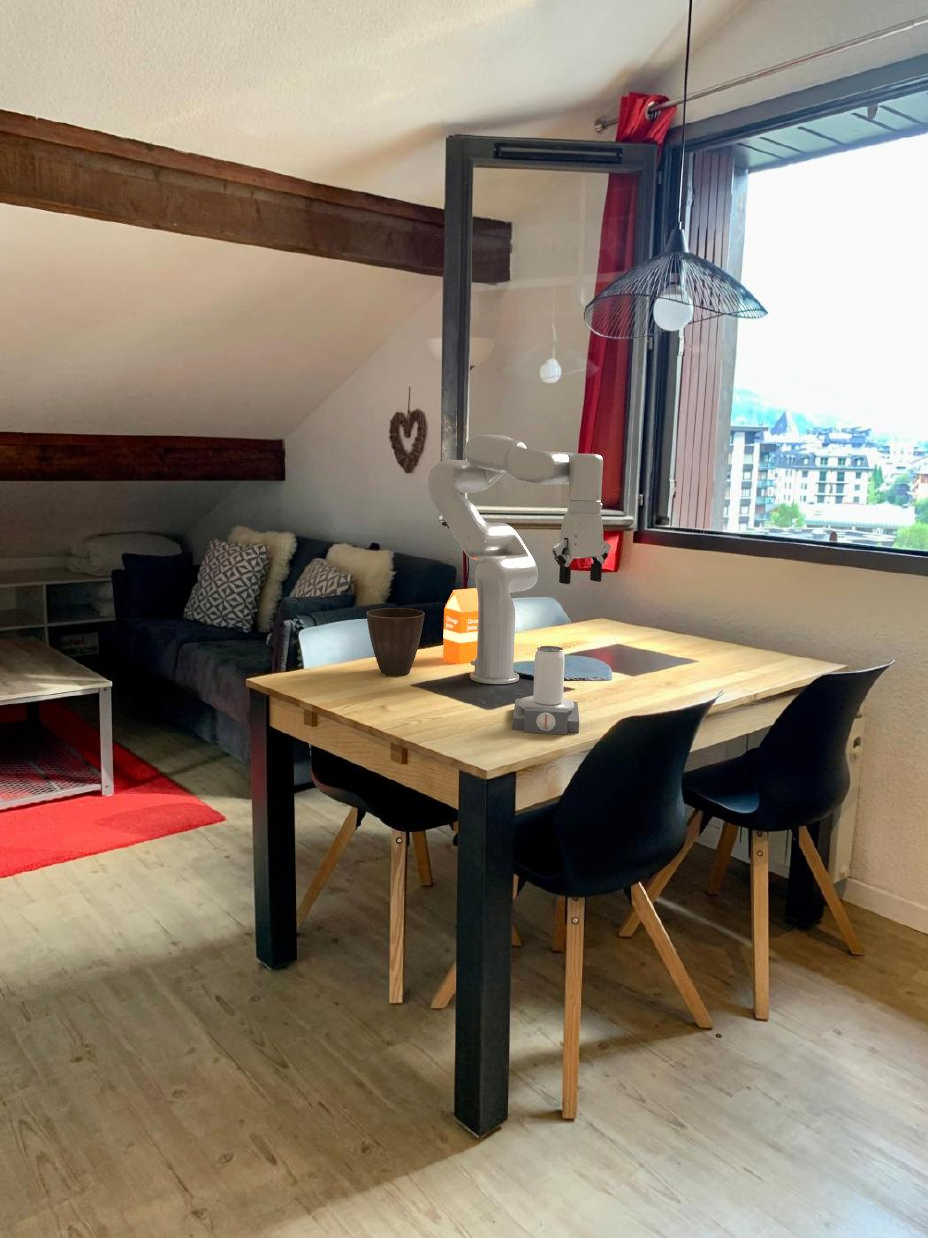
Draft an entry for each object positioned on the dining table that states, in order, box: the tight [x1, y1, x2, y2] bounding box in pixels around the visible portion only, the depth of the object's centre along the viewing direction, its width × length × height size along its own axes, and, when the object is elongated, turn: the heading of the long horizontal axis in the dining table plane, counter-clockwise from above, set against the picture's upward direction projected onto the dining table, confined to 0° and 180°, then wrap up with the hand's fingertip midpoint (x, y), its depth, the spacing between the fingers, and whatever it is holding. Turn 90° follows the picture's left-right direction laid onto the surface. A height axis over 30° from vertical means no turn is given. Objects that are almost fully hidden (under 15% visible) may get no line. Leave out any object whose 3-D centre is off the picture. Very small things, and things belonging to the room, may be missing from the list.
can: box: [532, 645, 565, 706], centre depth 207 cm, size 6×6×12 cm
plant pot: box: [365, 607, 425, 677], centre depth 246 cm, size 15×15×16 cm
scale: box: [511, 695, 580, 735], centre depth 206 cm, size 18×14×5 cm
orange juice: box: [442, 587, 478, 665], centre depth 263 cm, size 8×9×20 cm
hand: (580, 582), depth 220 cm, fingers open, 9 cm apart
